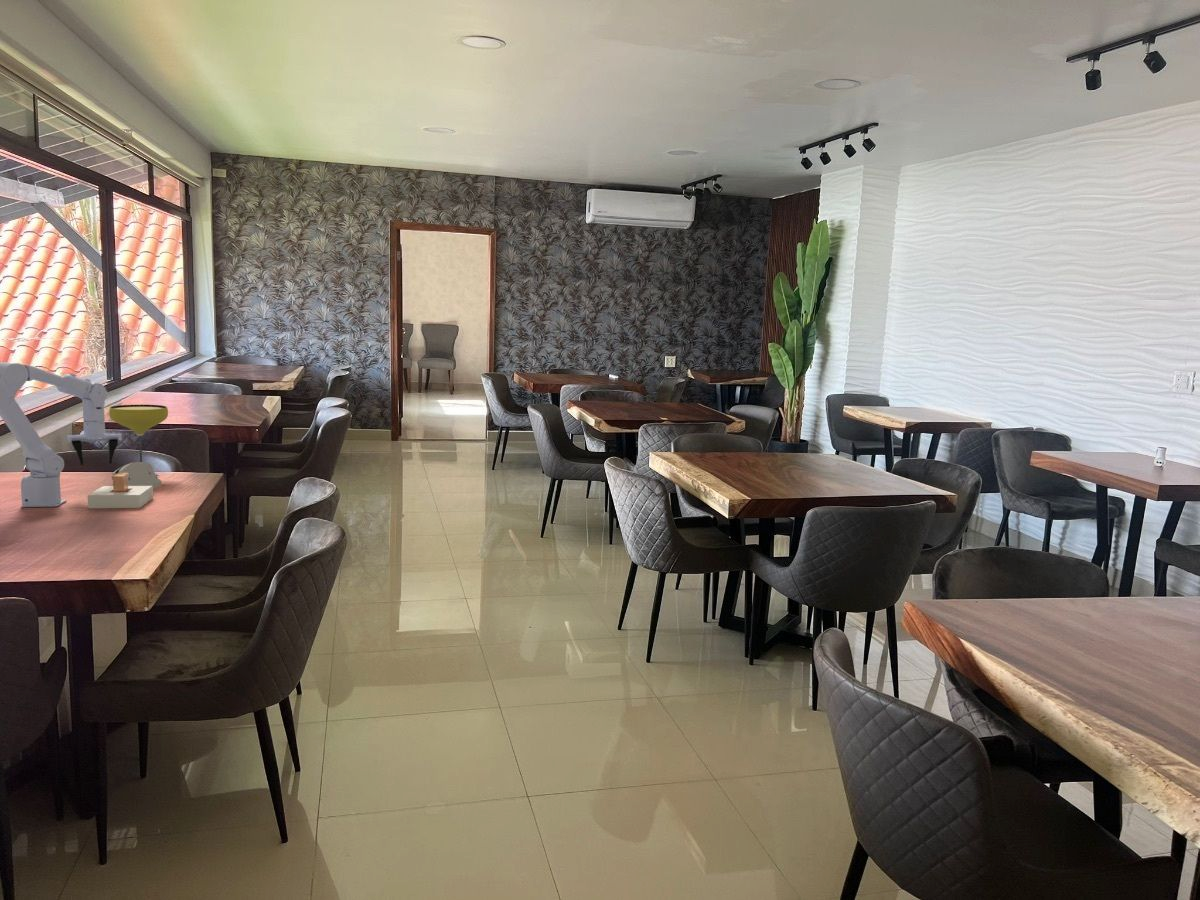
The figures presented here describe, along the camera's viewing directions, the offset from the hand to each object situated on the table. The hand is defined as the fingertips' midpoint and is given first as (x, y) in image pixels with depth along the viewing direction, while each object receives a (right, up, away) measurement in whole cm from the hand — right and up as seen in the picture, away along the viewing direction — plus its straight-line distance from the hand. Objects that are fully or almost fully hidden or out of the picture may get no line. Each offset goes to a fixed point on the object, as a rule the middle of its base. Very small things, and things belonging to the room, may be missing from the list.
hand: (96, 463), depth 264 cm
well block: (+12, -12, -7) cm, 18 cm away
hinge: (+5, -9, +15) cm, 18 cm away
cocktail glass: (-4, -6, +34) cm, 35 cm away
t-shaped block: (+12, -12, -7) cm, 18 cm away
